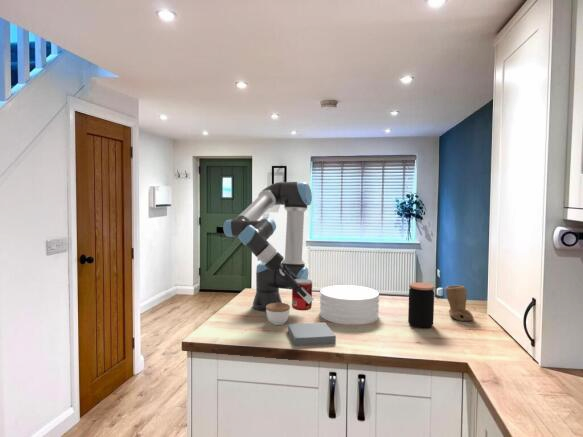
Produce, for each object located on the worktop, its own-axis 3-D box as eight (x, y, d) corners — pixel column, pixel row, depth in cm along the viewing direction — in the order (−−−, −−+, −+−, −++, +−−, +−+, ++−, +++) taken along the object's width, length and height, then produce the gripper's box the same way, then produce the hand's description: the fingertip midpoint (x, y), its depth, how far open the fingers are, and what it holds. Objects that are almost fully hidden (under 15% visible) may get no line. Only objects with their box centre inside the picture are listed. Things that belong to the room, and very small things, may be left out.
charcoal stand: (288, 331, 156) (288, 324, 156) (324, 329, 159) (325, 322, 159) (295, 345, 141) (295, 338, 140) (335, 343, 143) (335, 335, 143)
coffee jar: (434, 323, 168) (435, 284, 167) (432, 330, 158) (433, 289, 158) (409, 319, 173) (410, 281, 172) (406, 326, 163) (407, 286, 162)
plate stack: (360, 304, 197) (360, 283, 196) (390, 321, 170) (390, 297, 170) (311, 309, 188) (311, 287, 187) (334, 327, 162) (335, 301, 161)
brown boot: (443, 311, 187) (444, 281, 186) (469, 313, 183) (470, 283, 182) (445, 320, 172) (446, 288, 172) (473, 323, 168) (475, 290, 168)
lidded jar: (292, 320, 170) (293, 300, 169) (284, 328, 160) (284, 306, 159) (271, 317, 173) (271, 298, 173) (262, 325, 163) (262, 304, 163)
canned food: (309, 311, 143) (310, 283, 142) (289, 309, 145) (290, 282, 144) (313, 305, 150) (313, 279, 150) (294, 304, 152) (294, 277, 152)
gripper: (265, 259, 157) (302, 297, 158) (262, 269, 136) (304, 313, 137) (278, 247, 157) (315, 285, 158) (276, 255, 136) (319, 299, 137)
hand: (310, 298), depth 147 cm, fingers closed on canned food, 8 cm apart
